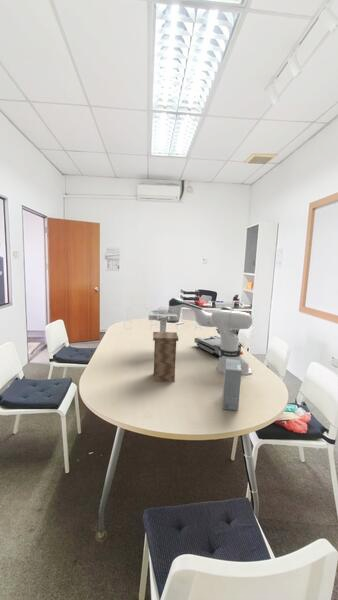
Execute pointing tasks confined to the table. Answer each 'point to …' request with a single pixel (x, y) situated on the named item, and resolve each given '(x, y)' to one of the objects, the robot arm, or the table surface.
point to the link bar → (163, 323)
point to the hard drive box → (231, 384)
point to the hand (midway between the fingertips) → (163, 319)
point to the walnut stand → (164, 356)
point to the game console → (211, 345)
